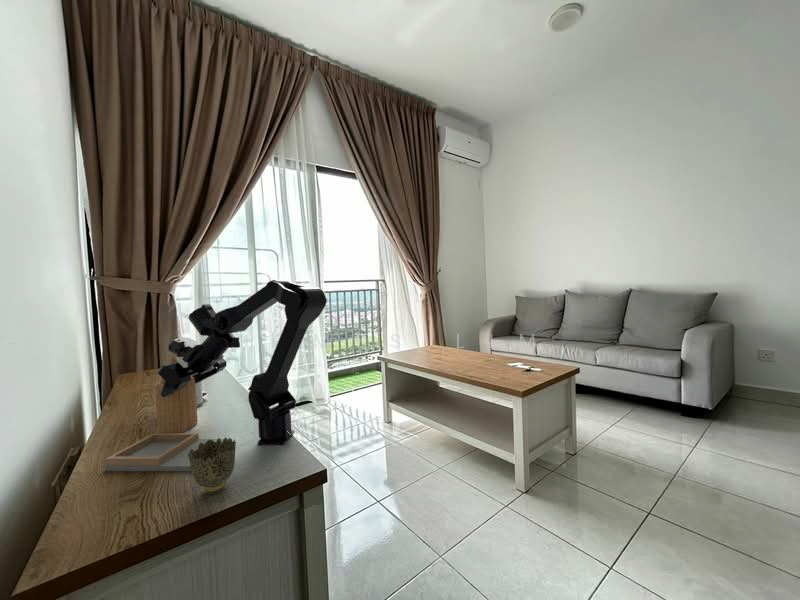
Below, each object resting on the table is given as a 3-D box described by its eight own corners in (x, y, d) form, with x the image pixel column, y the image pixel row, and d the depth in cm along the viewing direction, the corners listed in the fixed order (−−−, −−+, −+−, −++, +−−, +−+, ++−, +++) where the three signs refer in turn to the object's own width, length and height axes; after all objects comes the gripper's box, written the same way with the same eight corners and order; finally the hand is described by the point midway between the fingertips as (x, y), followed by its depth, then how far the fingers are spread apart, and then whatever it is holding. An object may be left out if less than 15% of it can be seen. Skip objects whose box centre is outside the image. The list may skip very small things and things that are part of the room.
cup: (217, 505, 54) (214, 458, 54) (180, 501, 56) (177, 455, 55) (247, 479, 62) (244, 437, 61) (213, 476, 63) (210, 436, 63)
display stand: (232, 442, 77) (231, 432, 77) (196, 471, 65) (196, 458, 65) (153, 443, 79) (152, 433, 79) (105, 471, 67) (104, 459, 67)
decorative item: (156, 434, 84) (151, 357, 83) (175, 424, 90) (170, 352, 90) (181, 434, 83) (176, 357, 83) (198, 423, 90) (194, 351, 89)
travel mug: (196, 409, 101) (192, 345, 101) (175, 410, 101) (171, 346, 101) (208, 402, 108) (204, 342, 107) (188, 403, 108) (184, 343, 107)
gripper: (214, 323, 95) (181, 361, 96) (162, 332, 76) (122, 379, 77) (241, 349, 94) (207, 387, 96) (196, 364, 76) (155, 411, 77)
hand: (176, 390), depth 87 cm, fingers open, 9 cm apart
